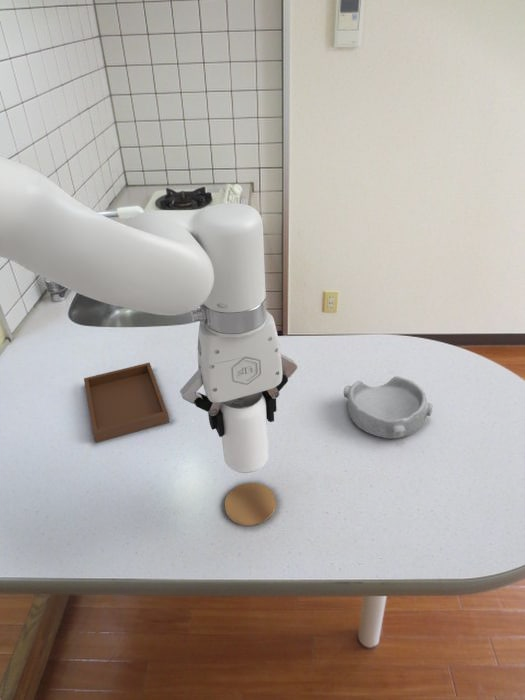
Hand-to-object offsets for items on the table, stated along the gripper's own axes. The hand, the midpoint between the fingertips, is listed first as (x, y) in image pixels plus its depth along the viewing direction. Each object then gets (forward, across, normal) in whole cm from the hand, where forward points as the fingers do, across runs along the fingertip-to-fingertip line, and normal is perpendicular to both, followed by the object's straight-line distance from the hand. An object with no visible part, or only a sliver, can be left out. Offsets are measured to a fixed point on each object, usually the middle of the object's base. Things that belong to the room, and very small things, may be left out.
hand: (243, 422), depth 72 cm
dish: (+18, +30, +9) cm, 36 cm away
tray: (+17, -14, +33) cm, 40 cm away
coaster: (+17, 0, 0) cm, 17 cm away
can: (+7, 0, 0) cm, 7 cm away
